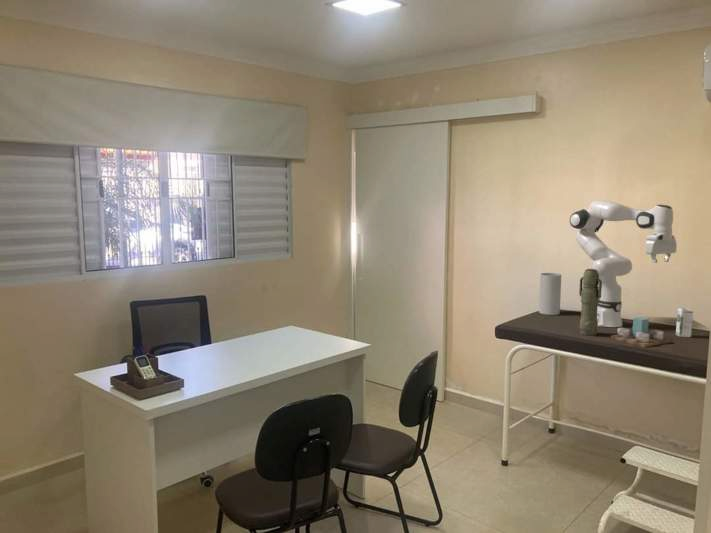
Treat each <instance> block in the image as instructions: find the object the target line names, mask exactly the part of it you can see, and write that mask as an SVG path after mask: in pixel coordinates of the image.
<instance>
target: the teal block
mask: <svg viewBox="0 0 711 533" xmlns="http://www.w3.org/2000/svg"><path fill="white" fill-rule="evenodd" d="M649 321H650V319H649V318H646V317H641V316H639V317H633V321H632V326H633V335H632V337H634V338H636V334H637V332H644V333H648V334H649V323H650V322H649Z"/></svg>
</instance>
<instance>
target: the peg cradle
mask: <svg viewBox="0 0 711 533" xmlns="http://www.w3.org/2000/svg"><path fill="white" fill-rule="evenodd" d="M616 333H617V334H613V335H611V336H610V339H611V340H616V341H618V342H624V343H627V344H631V345H635V346H638V347H642V348H648V347H652V346H657V345H658V346H659V345H663V344H669V343H670V339H667V338H664V333H665V332H664V331H663V330H659V329H651V331H650V334H649V332H648V333H644V332H637V334H636V338H634V337H632V335H633V325H632V327H631V330H630V328H627V327H617V332H616Z"/></svg>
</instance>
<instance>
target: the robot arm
mask: <svg viewBox="0 0 711 533" xmlns="http://www.w3.org/2000/svg"><path fill="white" fill-rule="evenodd" d="M606 221H607V222H623V221H635V223H636V226H637V227H638V228H640V229H642V230H643V229H644V230H652V232H650V233H649V234H647V235H646V237H645V239H646V242H645V254H646V255H650V257H651V260H652V261H651V263H653V264H657V263H658V259H657V255H665V258H664V259H663V261H664V262H665V263H669V262H670V258H671V255H672V254H676V253H677V251H678V250H677V240H676V237H675V236H674V235H673V226H672V225H673V223H674V211H673V207H671V206H670V205H668V204H656V205H655V206H654V207H652V208H650V209H646V210H643V209H638V208H634V207H630V206H627V205H623V204H621V203H617V202H615V201H612V200H611V201H610V200H604V199H601V200H600V199H599V200H597V199H596V200H593V201H592V202H591V203H590V204H589V206H588V209H584V208H583V209H580V210H577V211H574V212H573V213H571V215H570V217H569V224H570V226H571V227H572V228H574V229H577V230H578V232H577V233H576V235H575V239H576V242H577V243H578V245H579V247H580V248H581V249H582V251H583V252H584V253H585V254H586V255H587V256H588V257H589V258H590V259H591V260H592V261H593V263H592V265H591V269H596V270H597V271H598V274H599V279H600V280H601V281H602V290H601V298H600V299H599V302H598V307H597V322H598V327H606V328H607V327H608V328H622V327H623V320H622V312H621V311H622V302H623V301H622V287H621V285H620V284H618V282H617V277H623V276H625V275H627V274H629V273H631V271H632V270H633V263H632V261H631V260H630V259H629V258H628V257H624V256H622V255H620V254H619V253H617V252H616V251H614V250H613V249H611V248H609V246H607V245H606V244H605V243H604V242H603V240H601V239H600V237H598V235H597V234H596V233H598V232H599V230H600V229H601V228H602V226H603V224H604V222H606Z"/></svg>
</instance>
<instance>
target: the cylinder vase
mask: <svg viewBox="0 0 711 533" xmlns="http://www.w3.org/2000/svg"><path fill="white" fill-rule="evenodd" d="M539 276H540V277H539V296H538V297H539V298H538V299H539V300H538V301H539V303H538V304H539V305H538V313H539V314H541V315H546V316H558V315H560V312H561V292H562V274H561V273H554V272H544V273H543V272H542V273H540V274H539Z"/></svg>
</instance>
